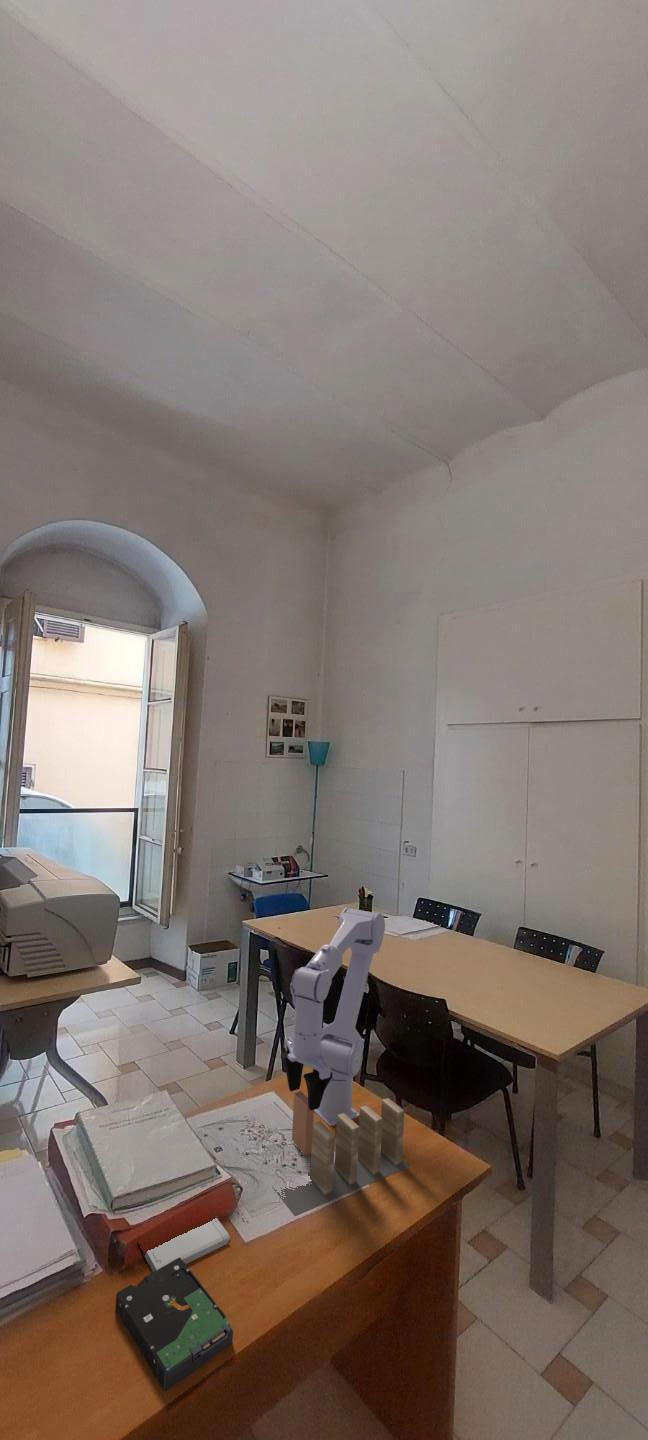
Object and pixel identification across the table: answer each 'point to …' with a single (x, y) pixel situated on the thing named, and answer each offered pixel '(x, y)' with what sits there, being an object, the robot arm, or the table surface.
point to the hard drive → (189, 1245)
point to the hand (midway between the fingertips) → (304, 1098)
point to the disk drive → (173, 1322)
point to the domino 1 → (302, 1123)
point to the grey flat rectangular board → (335, 1187)
